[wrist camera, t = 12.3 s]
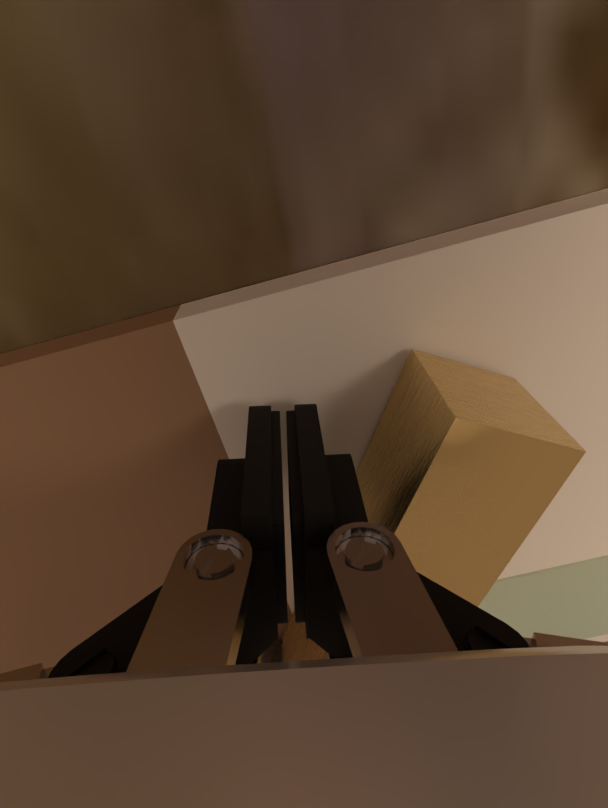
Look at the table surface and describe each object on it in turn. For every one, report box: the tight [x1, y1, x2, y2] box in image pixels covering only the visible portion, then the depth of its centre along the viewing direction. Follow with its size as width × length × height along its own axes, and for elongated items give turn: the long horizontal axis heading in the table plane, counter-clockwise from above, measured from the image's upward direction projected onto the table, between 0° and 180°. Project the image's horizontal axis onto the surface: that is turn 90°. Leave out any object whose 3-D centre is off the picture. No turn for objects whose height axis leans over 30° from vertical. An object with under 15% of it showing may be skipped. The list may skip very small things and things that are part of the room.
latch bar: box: [261, 349, 586, 663], centre depth 14 cm, size 14×4×4 cm, turn 162°
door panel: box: [0, 188, 608, 674], centre depth 15 cm, size 25×19×5 cm
